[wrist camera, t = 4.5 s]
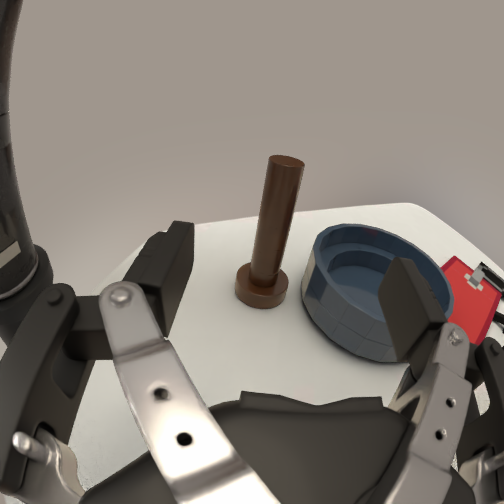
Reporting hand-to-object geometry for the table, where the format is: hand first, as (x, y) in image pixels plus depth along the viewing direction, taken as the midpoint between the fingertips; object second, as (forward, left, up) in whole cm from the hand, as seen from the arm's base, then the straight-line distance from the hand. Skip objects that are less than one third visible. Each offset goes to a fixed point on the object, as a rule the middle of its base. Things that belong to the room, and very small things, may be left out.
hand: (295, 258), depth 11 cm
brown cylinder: (0, +11, -12) cm, 16 cm away
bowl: (+11, +11, -12) cm, 20 cm away
